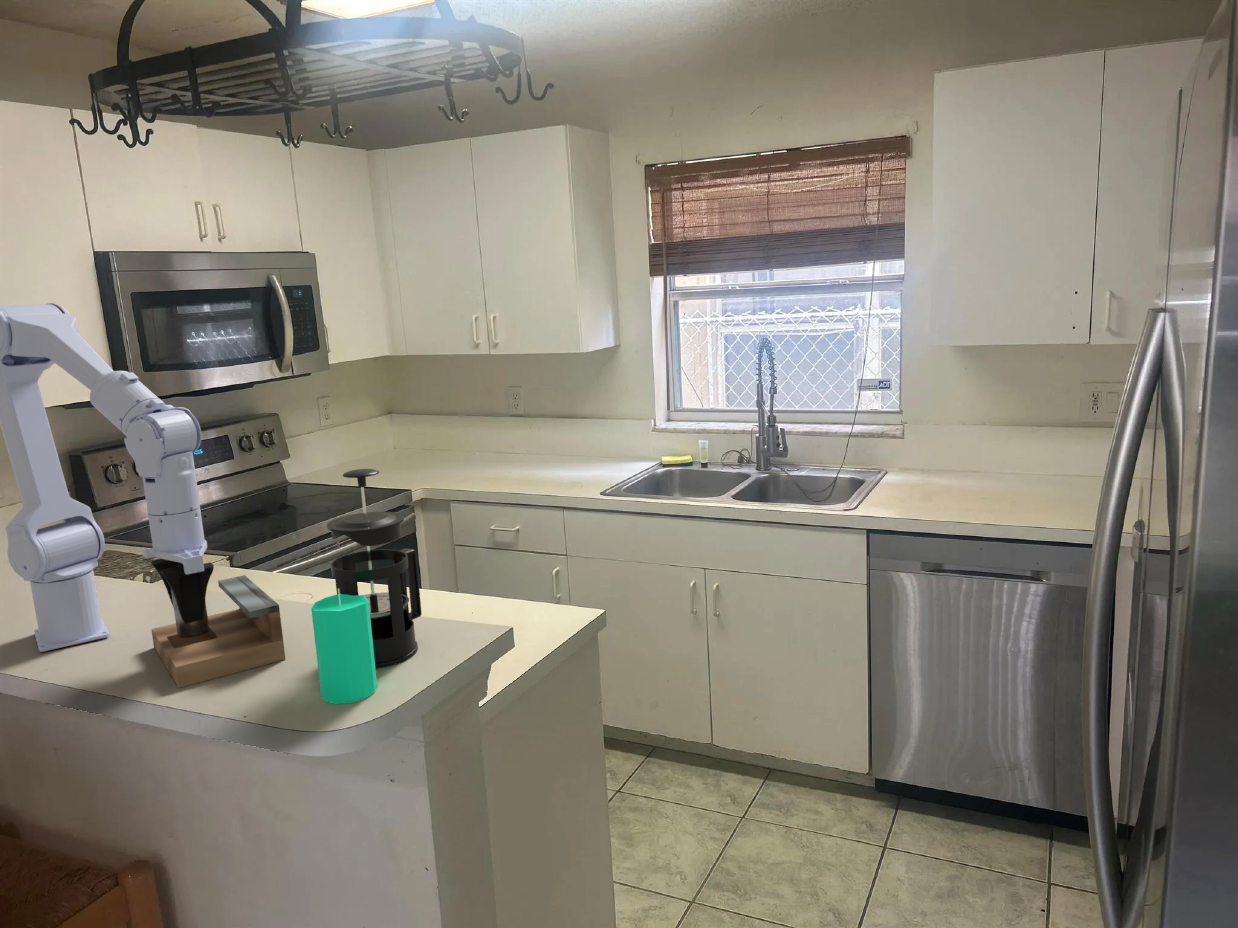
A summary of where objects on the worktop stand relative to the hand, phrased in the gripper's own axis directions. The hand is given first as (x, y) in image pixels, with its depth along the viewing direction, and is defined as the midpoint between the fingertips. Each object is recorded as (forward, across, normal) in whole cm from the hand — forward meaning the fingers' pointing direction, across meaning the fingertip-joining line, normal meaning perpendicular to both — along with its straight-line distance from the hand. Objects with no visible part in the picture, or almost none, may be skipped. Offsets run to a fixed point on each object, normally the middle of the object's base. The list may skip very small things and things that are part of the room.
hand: (189, 616), depth 111 cm
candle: (+6, +24, +11) cm, 27 cm away
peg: (+2, 0, 0) cm, 2 cm away
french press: (+6, +15, +18) cm, 24 cm away
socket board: (+5, +1, +2) cm, 6 cm away
